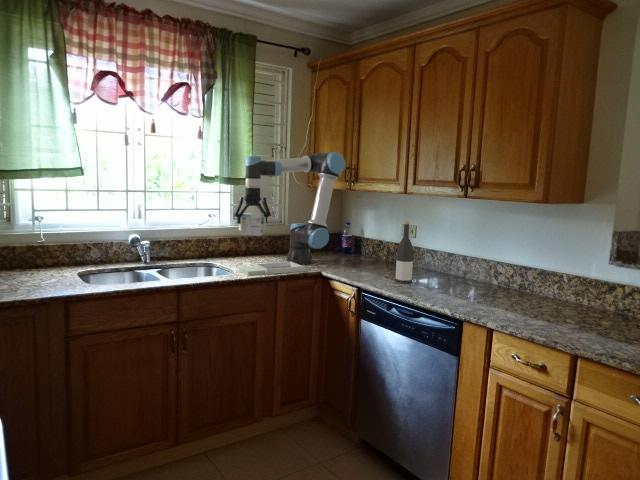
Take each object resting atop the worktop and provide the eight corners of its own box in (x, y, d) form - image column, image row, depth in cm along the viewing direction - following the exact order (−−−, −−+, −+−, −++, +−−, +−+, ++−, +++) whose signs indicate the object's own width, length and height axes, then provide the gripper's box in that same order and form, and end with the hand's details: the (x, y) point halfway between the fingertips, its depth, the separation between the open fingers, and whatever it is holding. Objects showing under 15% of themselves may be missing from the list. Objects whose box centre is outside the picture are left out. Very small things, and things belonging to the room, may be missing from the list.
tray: (290, 265, 274) (290, 261, 274) (304, 271, 261) (304, 266, 261) (253, 268, 263) (254, 264, 263) (266, 274, 249) (266, 269, 249)
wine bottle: (393, 282, 239) (396, 221, 235) (397, 279, 247) (400, 220, 243) (410, 284, 236) (413, 222, 233) (413, 281, 244) (416, 221, 240)
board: (254, 269, 260) (254, 266, 259) (264, 274, 249) (264, 270, 249) (238, 271, 255) (238, 267, 255) (248, 275, 245) (248, 271, 244)
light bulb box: (263, 234, 252) (264, 213, 251) (261, 236, 246) (261, 214, 244) (243, 233, 253) (243, 212, 252) (240, 235, 247) (240, 213, 245)
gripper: (271, 187, 256) (270, 228, 259) (227, 186, 243) (226, 229, 246) (277, 188, 250) (277, 230, 252) (232, 187, 237) (232, 231, 240)
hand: (252, 230), depth 249 cm, fingers closed on light bulb box, 12 cm apart
